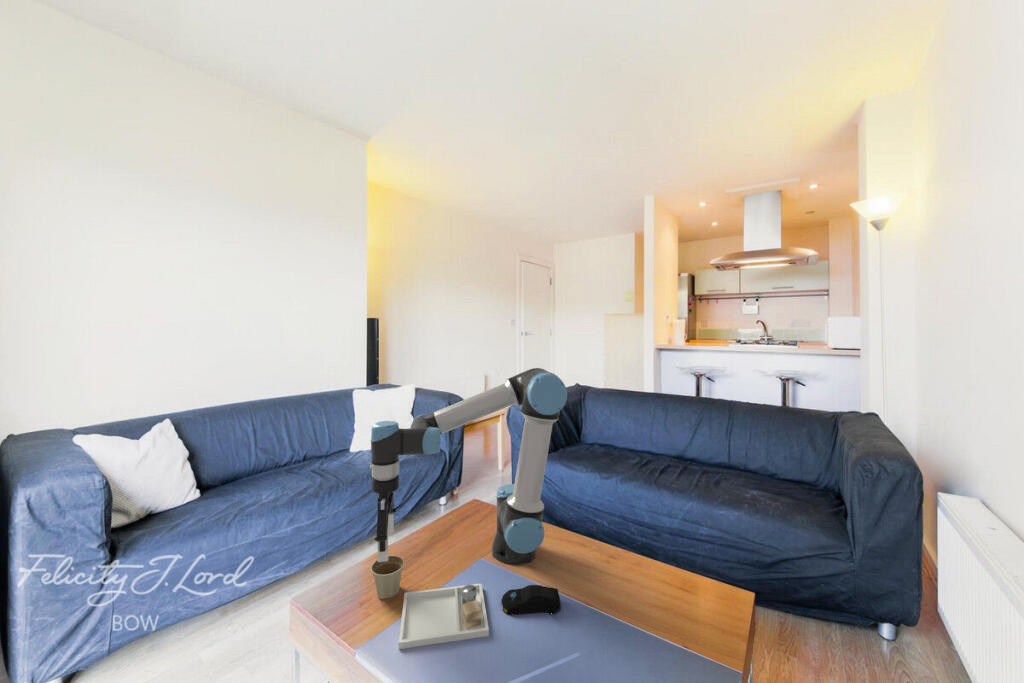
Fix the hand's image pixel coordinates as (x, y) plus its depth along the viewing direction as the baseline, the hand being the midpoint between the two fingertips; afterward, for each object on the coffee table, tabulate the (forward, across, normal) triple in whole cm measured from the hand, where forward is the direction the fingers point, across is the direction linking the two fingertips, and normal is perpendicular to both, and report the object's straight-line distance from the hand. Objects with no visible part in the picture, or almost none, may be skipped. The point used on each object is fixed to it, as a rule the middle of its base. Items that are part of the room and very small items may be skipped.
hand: (386, 547), depth 117 cm
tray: (+14, +13, +16) cm, 25 cm away
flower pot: (+14, 0, 0) cm, 14 cm away
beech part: (+13, +16, +23) cm, 31 cm away
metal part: (+13, +10, +23) cm, 28 cm away
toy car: (+14, +13, +40) cm, 45 cm away
